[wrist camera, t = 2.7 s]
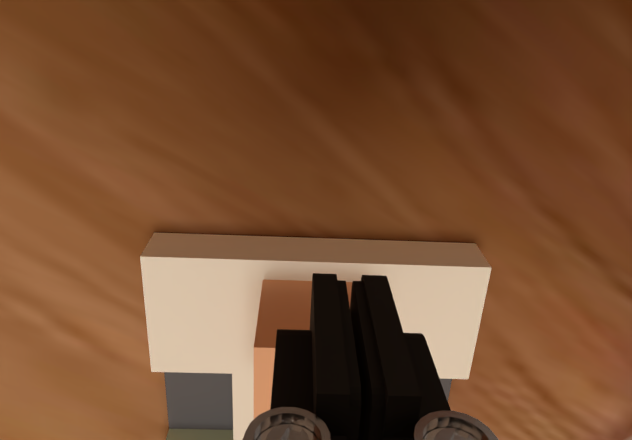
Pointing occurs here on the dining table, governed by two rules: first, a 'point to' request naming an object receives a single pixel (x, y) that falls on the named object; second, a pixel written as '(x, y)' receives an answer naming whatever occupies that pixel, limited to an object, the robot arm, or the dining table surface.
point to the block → (278, 313)
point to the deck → (243, 305)
